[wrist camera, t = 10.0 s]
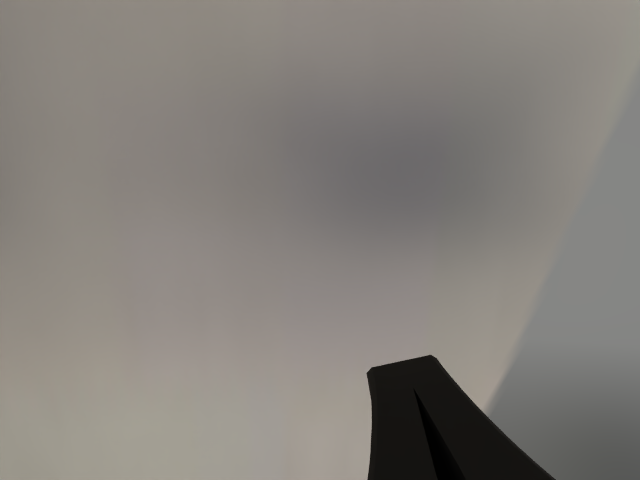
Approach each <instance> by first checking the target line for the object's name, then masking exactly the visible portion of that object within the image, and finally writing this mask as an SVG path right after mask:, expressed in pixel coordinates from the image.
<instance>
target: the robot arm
mask: <svg viewBox="0 0 640 480" xmlns="http://www.w3.org/2000/svg"><path fill="white" fill-rule="evenodd" d="M367 378H368V384H369V390H370V395H371V402H372V433H371V453H370V465H369V473H368V480H556V479H554V478H553V477H552V476H551V475H549V474H548V473H547V472H546V471H545V470H544V469H542V468H541V467H540V466H539V465H538V464H537V463H535V462H534V461H533V460H532V459H531V458H530V457H529V456H528V455H527V454H526V453H524V452H523V451H522V450H521V449H520V448H519V447H518V446H517V445H516V444H515V443H513V442H512V441H511V440H510V439H509V438H508V437H507V436H506V435H505V434H504V433H503V432H502V431H501V430H500V429H499V428H498V427H497V426H496V425H495V424H494V423H493V422H492V421H491V420H490V419H489V418H488V417H487V416H486V415H485V414H484V413H483V412H482V411H481V410H480V409H479V408H478V407H477V406H476V405H475V403H474V402H473V401H472V400H471V399H470V398H469V397H468V396H467V395H466V394H465V392H464V391H463V390H462V389H461V388H460V387H459V386H458V385H457V383H456V382H455V381H454V380H453V379H452V377H451V376H450V375H449V374H448V373H447V371H446V370H445V369H444V368H443V366H442V365H441V364H440V362H439V361H438V360H437V358H435V357H433V356H432V355H428V356H423V357H419V358H414V359H409V360H405V361H400V362H395V363H391V364H386V365H381V366H377V367H372V368H371V369H370V370H369V371H368V372H367Z"/></svg>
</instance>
